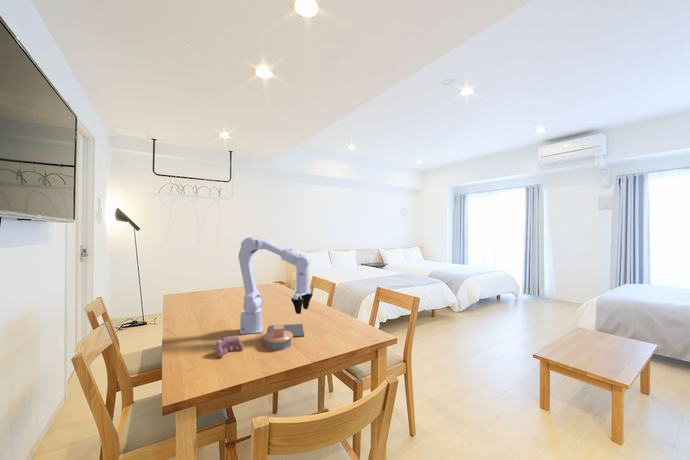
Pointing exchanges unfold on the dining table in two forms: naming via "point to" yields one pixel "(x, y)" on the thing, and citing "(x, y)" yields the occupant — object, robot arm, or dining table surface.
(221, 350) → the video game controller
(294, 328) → the mat
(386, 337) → the dining table surface
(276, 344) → the bowl
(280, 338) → the lid
